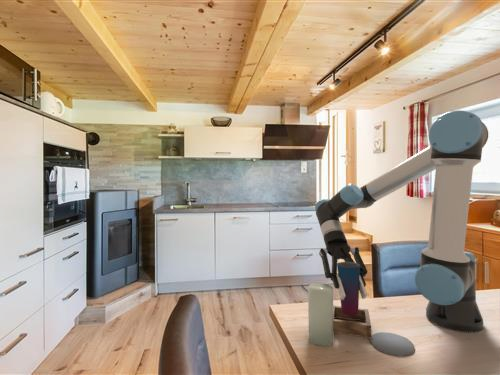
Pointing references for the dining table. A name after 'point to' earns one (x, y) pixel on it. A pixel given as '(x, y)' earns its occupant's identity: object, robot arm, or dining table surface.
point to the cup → (349, 286)
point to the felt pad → (392, 344)
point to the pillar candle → (320, 314)
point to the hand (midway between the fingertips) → (354, 297)
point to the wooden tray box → (350, 326)
